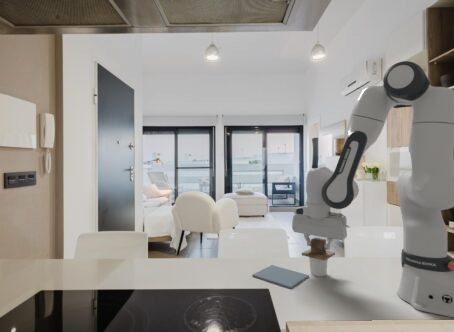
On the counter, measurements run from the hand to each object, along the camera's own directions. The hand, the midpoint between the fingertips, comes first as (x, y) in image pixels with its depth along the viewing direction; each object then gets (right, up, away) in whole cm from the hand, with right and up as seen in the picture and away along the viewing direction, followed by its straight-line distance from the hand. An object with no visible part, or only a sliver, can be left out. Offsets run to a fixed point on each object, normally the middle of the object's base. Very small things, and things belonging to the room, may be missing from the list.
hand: (318, 247), depth 109 cm
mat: (-15, -10, -3) cm, 18 cm away
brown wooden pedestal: (0, -3, 0) cm, 3 cm away
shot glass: (0, -10, 0) cm, 10 cm away
